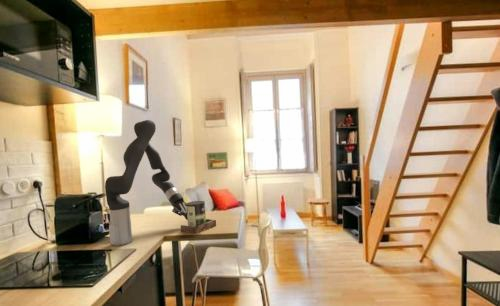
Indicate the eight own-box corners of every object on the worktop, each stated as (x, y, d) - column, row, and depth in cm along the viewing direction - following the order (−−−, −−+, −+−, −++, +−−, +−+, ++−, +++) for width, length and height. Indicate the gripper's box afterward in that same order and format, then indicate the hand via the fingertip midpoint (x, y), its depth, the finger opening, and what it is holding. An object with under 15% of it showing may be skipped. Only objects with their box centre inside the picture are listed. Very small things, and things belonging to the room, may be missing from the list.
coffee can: (207, 224, 162) (205, 200, 162) (205, 229, 151) (203, 203, 151) (190, 225, 162) (188, 201, 161) (186, 231, 151) (184, 205, 151)
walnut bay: (194, 233, 146) (194, 227, 146) (181, 230, 152) (180, 225, 152) (216, 225, 158) (215, 219, 158) (202, 223, 165) (202, 218, 165)
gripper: (167, 194, 160) (182, 217, 153) (185, 190, 170) (200, 212, 163) (162, 203, 163) (177, 226, 156) (180, 199, 174) (195, 220, 166)
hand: (189, 219), depth 160 cm, fingers closed
